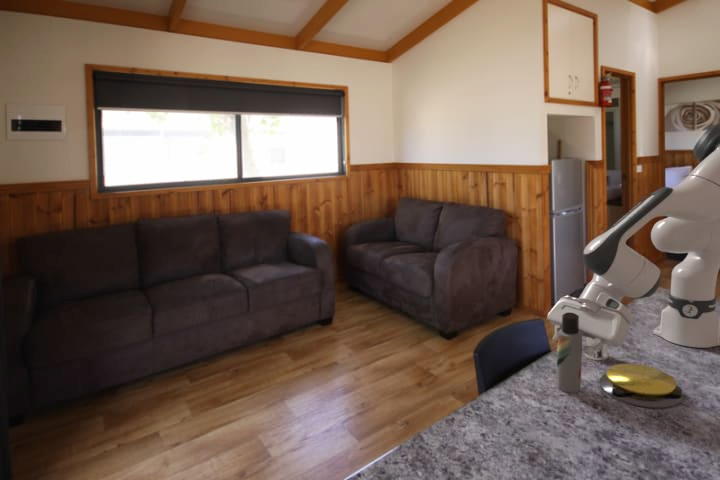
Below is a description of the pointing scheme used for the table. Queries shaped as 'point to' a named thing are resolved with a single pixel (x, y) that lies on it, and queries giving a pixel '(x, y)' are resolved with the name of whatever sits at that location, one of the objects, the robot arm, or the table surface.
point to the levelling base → (641, 398)
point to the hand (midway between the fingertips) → (570, 347)
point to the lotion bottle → (569, 354)
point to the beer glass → (597, 351)
